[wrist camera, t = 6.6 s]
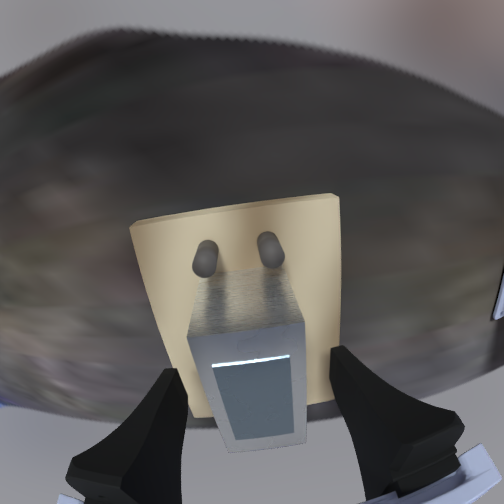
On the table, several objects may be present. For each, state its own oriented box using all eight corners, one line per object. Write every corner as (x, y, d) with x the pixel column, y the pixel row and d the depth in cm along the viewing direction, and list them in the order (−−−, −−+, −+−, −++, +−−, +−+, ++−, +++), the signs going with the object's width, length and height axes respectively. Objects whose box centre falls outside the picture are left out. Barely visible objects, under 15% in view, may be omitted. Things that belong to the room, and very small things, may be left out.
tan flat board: (330, 193, 14) (355, 206, 11) (330, 387, 19) (341, 419, 16) (136, 220, 14) (113, 240, 11) (196, 405, 19) (192, 439, 16)
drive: (282, 264, 14) (305, 323, 9) (291, 379, 17) (306, 443, 12) (200, 275, 14) (186, 338, 9) (228, 387, 17) (228, 453, 12)
